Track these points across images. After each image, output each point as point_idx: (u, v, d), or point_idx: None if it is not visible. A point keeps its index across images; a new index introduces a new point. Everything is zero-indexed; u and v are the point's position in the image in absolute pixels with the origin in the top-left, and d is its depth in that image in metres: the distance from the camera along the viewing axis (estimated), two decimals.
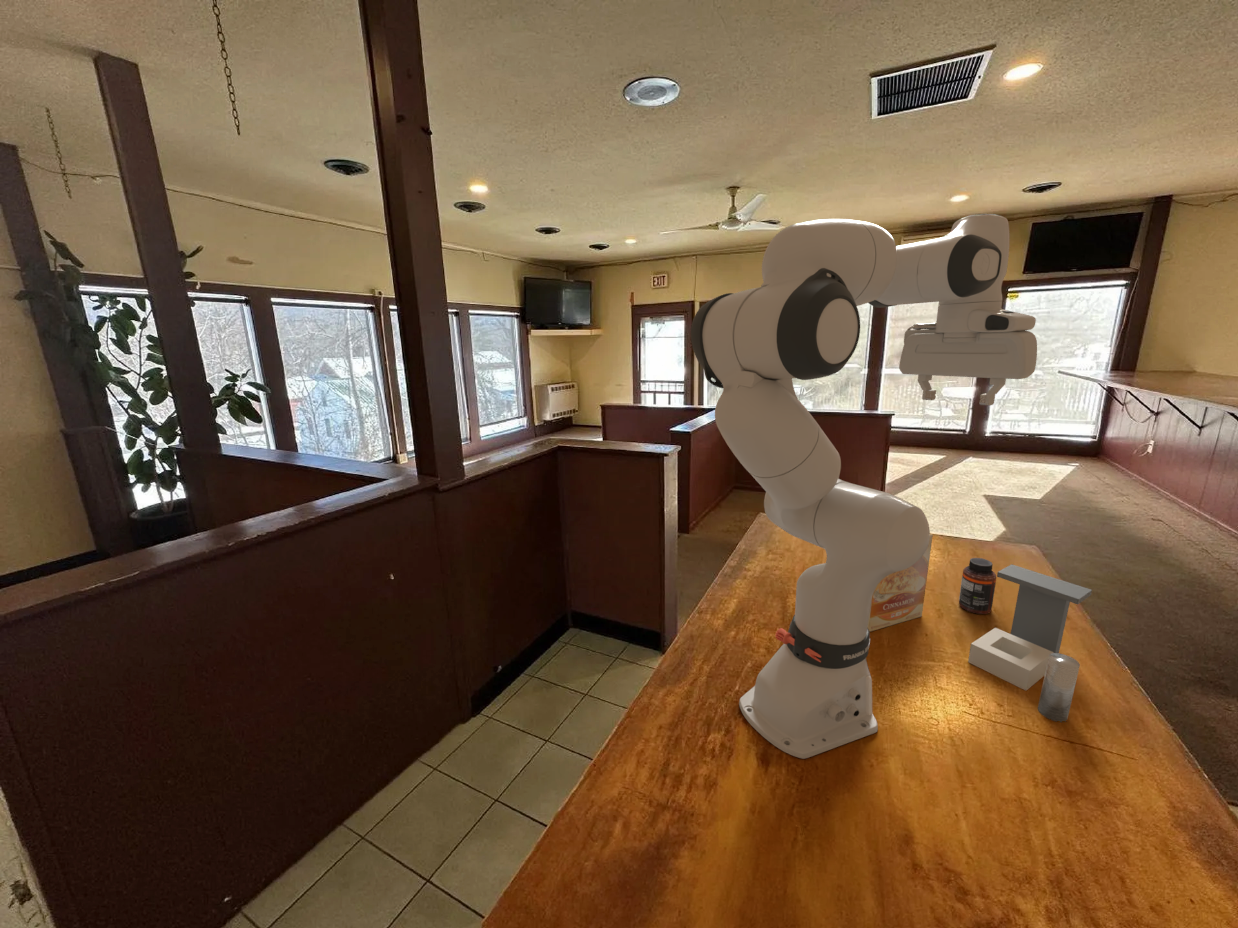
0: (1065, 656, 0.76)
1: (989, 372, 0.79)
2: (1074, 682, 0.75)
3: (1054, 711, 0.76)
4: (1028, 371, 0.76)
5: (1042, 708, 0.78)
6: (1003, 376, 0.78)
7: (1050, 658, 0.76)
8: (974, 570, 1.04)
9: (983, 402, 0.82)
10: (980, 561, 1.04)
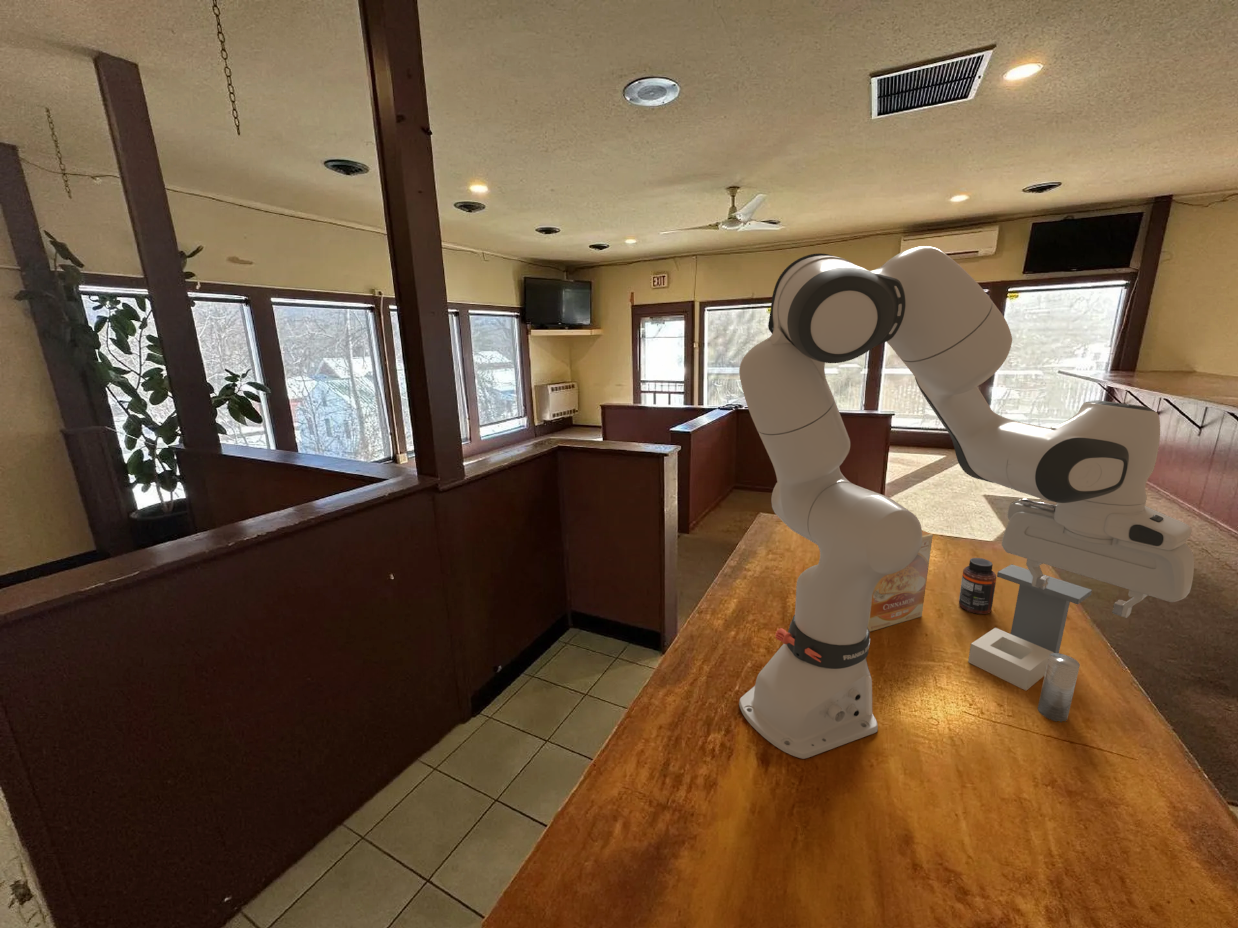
0: (1065, 656, 0.76)
1: (1130, 584, 0.66)
2: (1074, 682, 0.75)
3: (1054, 711, 0.76)
4: (1184, 595, 0.62)
5: (1042, 708, 0.78)
6: (1150, 594, 0.64)
7: (1050, 658, 0.76)
8: (974, 570, 1.04)
9: (1118, 612, 0.68)
10: (980, 561, 1.04)
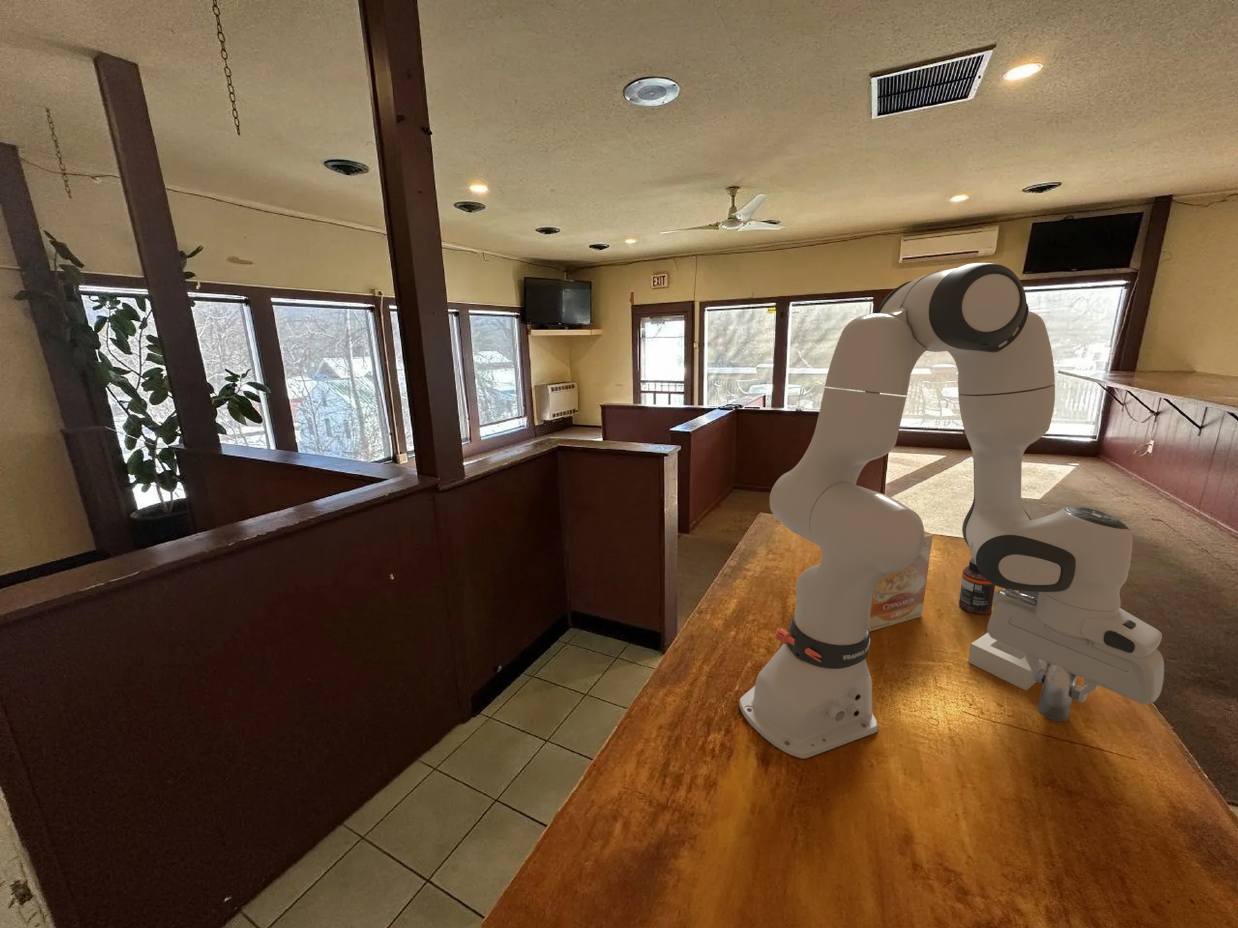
0: None
1: (1105, 683, 0.70)
2: (1074, 682, 0.75)
3: (1054, 711, 0.76)
4: (1155, 699, 0.66)
5: (1042, 708, 0.78)
6: (1123, 694, 0.69)
7: None
8: (974, 570, 1.04)
9: (1075, 697, 0.74)
10: None
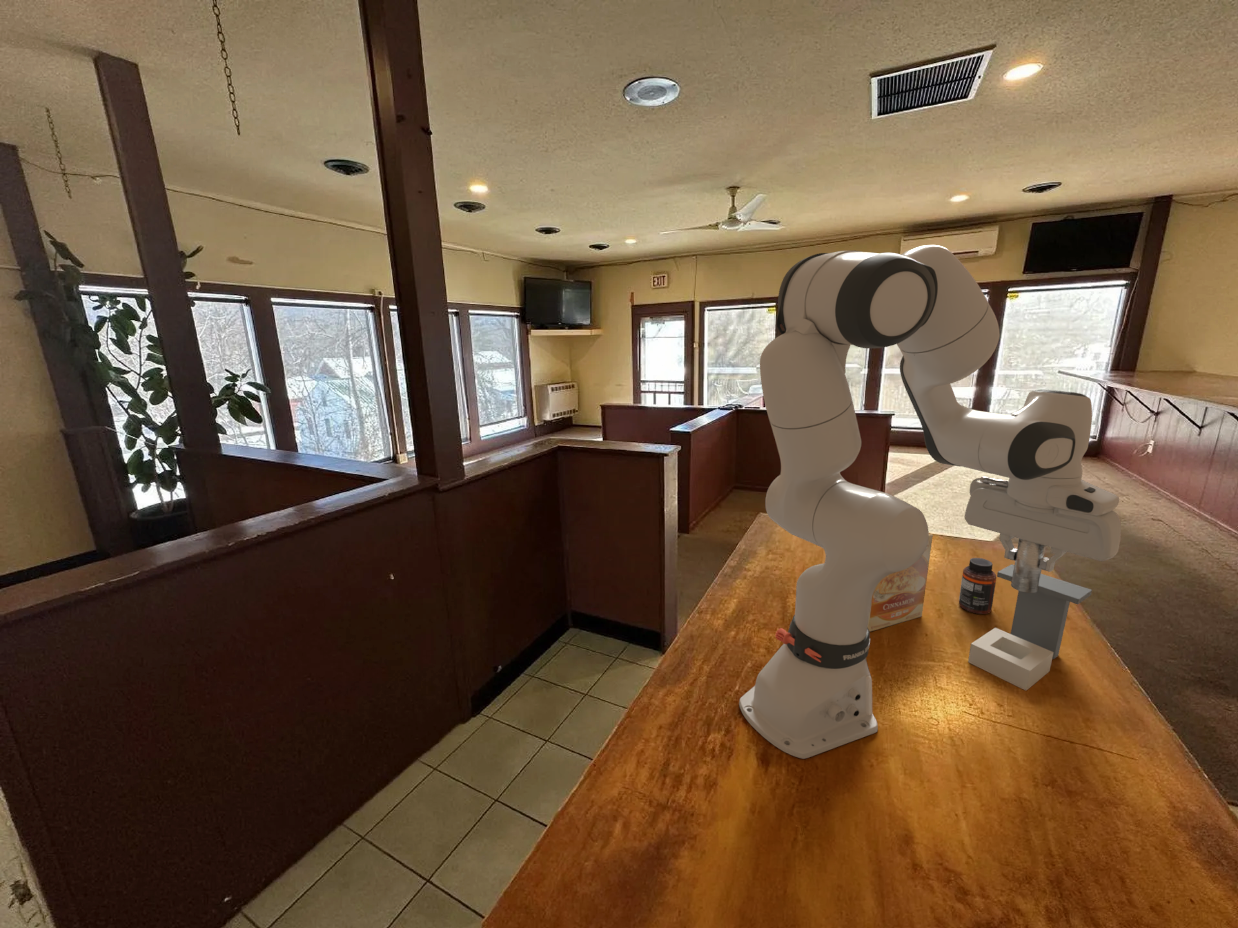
0: None
1: (1068, 547, 0.77)
2: (1042, 554, 0.81)
3: (1025, 583, 0.83)
4: (1112, 555, 0.73)
5: (1014, 582, 0.84)
6: (1084, 555, 0.75)
7: None
8: (974, 570, 1.04)
9: (1043, 567, 0.81)
10: (980, 561, 1.04)
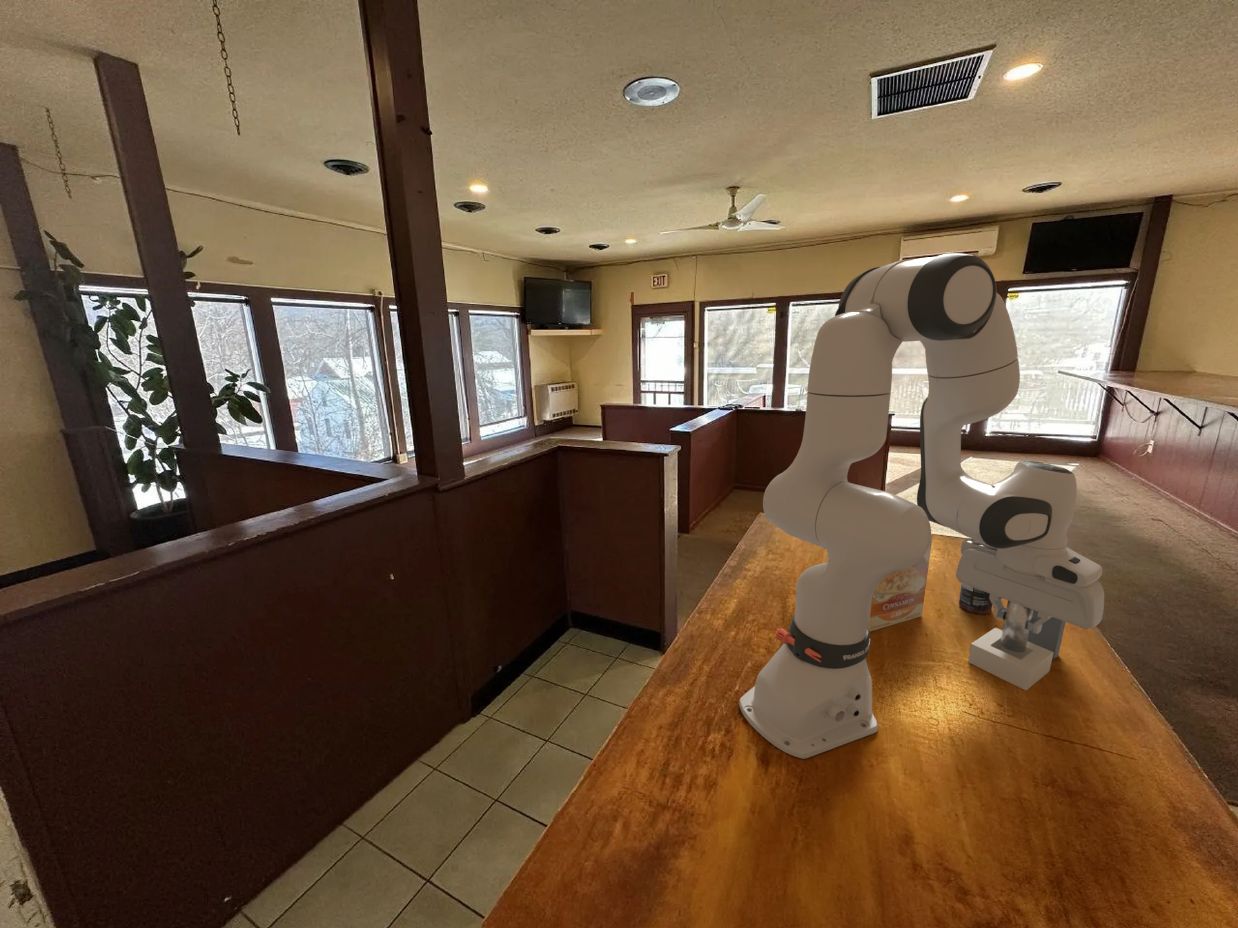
0: None
1: (1054, 613, 0.80)
2: (1030, 616, 0.84)
3: (1014, 643, 0.86)
4: (1095, 623, 0.76)
5: (1004, 641, 0.88)
6: (1069, 622, 0.78)
7: None
8: None
9: (1030, 629, 0.84)
10: None
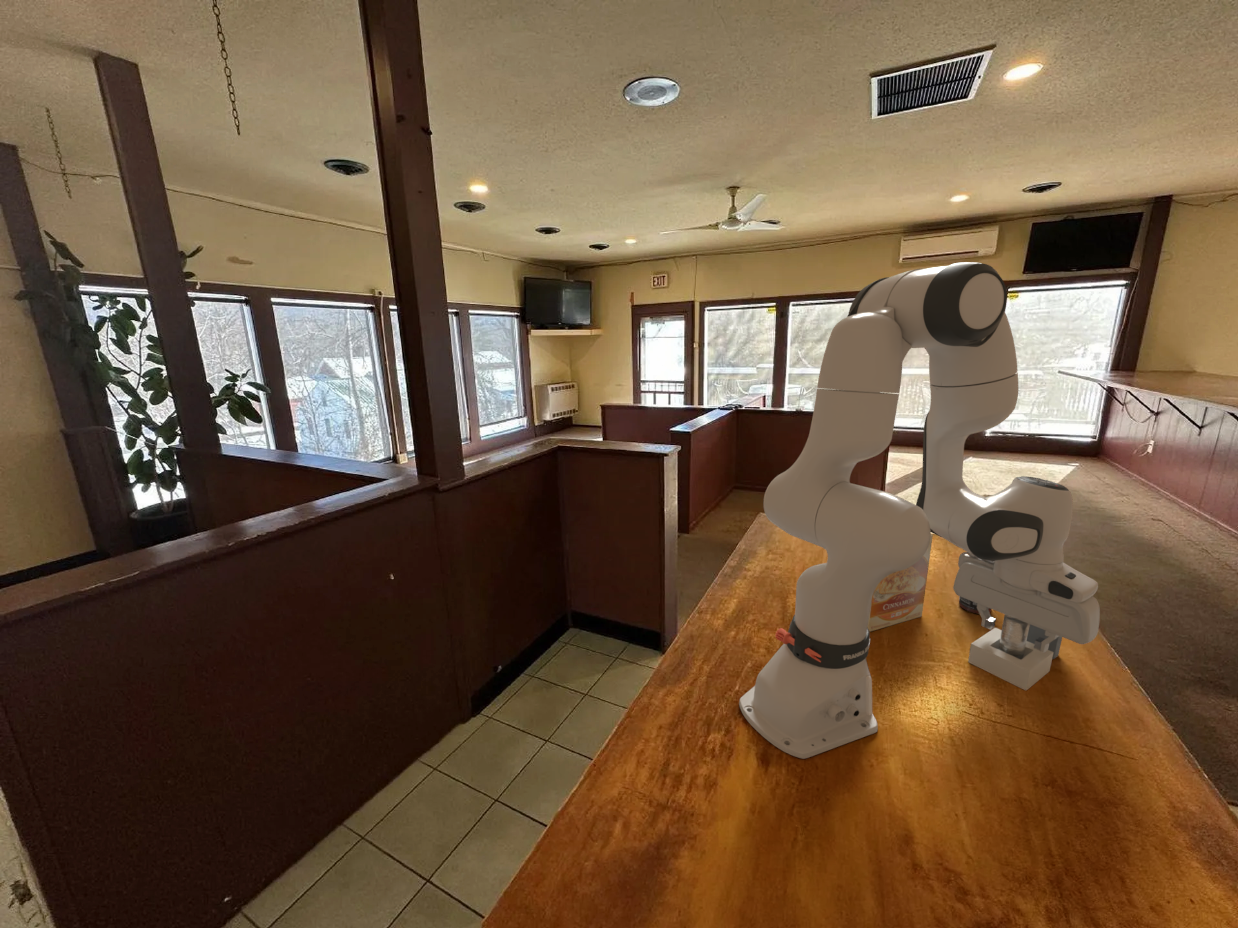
0: None
1: (1050, 628, 0.81)
2: (1025, 637, 0.85)
3: None
4: (1091, 639, 0.77)
5: None
6: (1065, 636, 0.79)
7: (1005, 617, 0.87)
8: None
9: (1038, 648, 0.84)
10: None
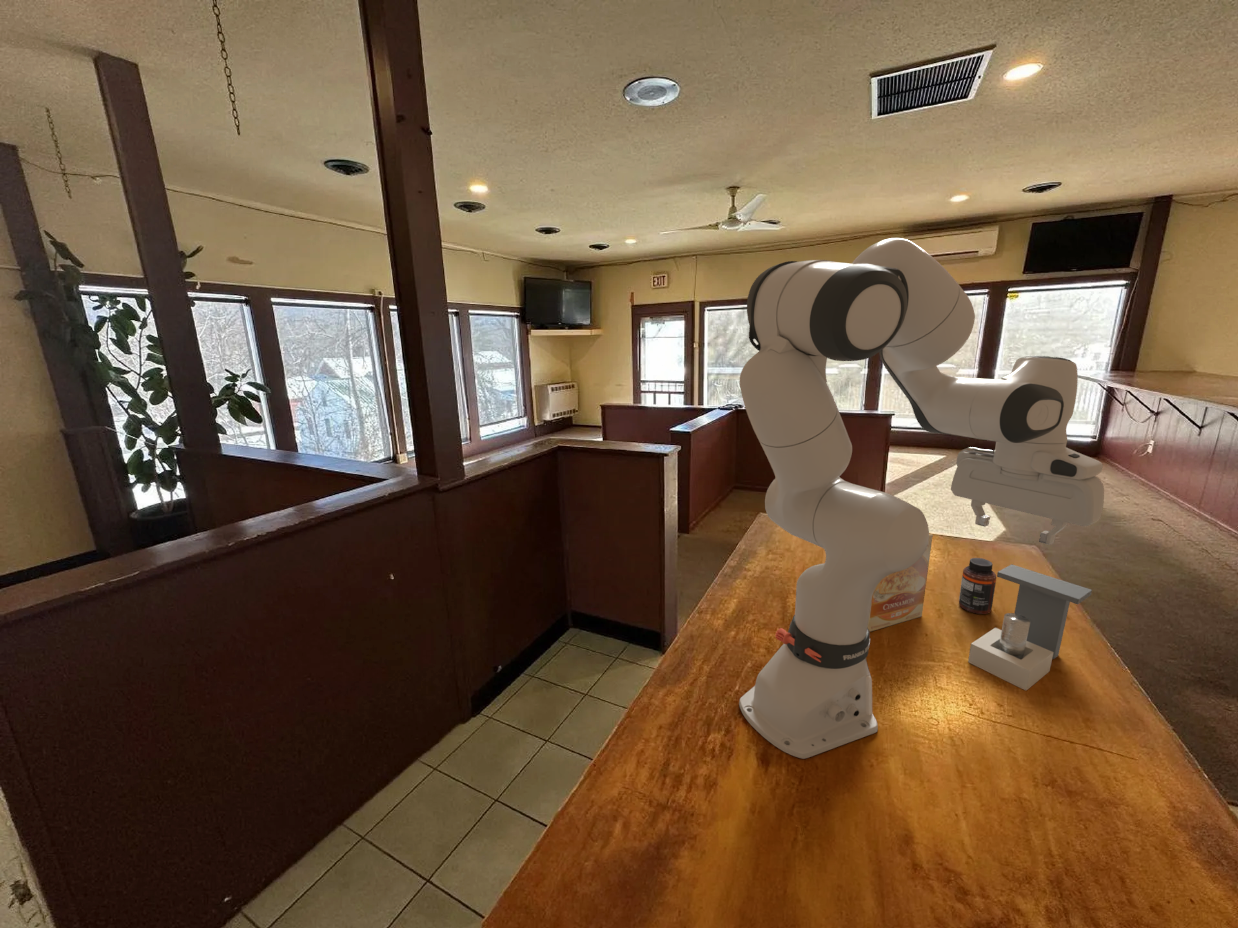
0: (1018, 615, 0.87)
1: (1052, 513, 0.77)
2: (1025, 637, 0.85)
3: None
4: (1095, 520, 0.73)
5: None
6: (1067, 520, 0.75)
7: (1005, 617, 0.87)
8: (974, 570, 1.04)
9: (1043, 540, 0.79)
10: (980, 561, 1.04)
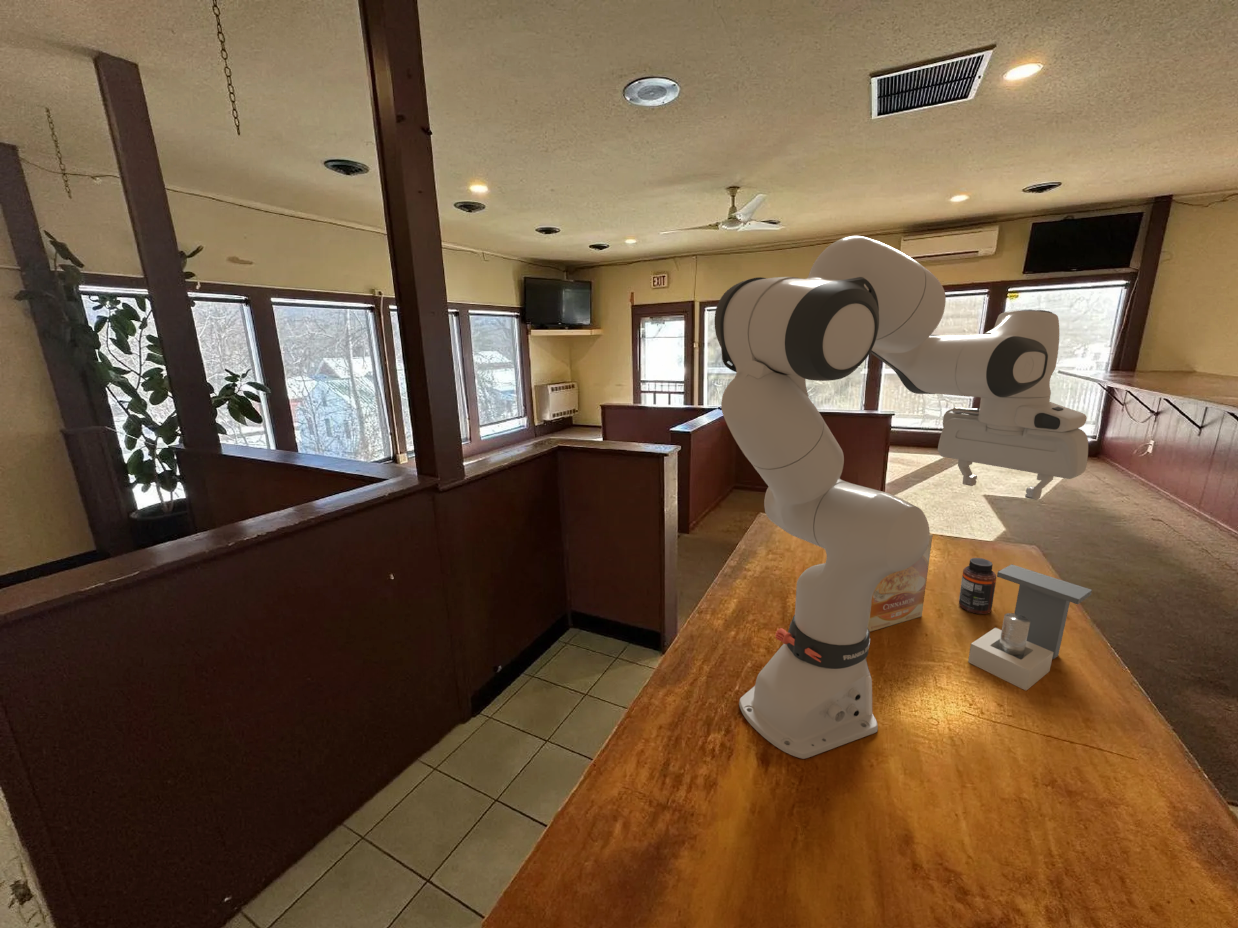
0: (1018, 615, 0.87)
1: (1037, 468, 0.77)
2: (1025, 637, 0.85)
3: None
4: (1079, 472, 0.73)
5: None
6: (1052, 474, 0.75)
7: (1005, 617, 0.87)
8: (974, 570, 1.04)
9: (1029, 496, 0.79)
10: (980, 561, 1.04)
